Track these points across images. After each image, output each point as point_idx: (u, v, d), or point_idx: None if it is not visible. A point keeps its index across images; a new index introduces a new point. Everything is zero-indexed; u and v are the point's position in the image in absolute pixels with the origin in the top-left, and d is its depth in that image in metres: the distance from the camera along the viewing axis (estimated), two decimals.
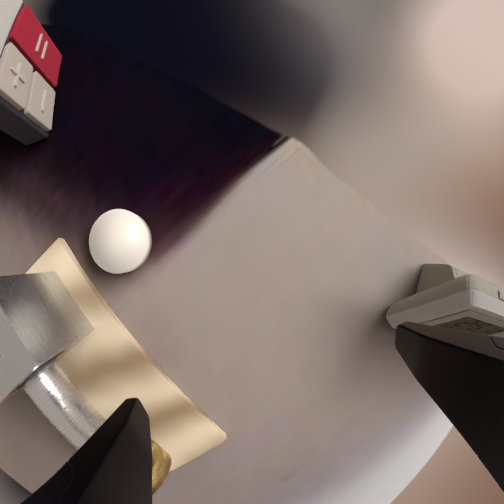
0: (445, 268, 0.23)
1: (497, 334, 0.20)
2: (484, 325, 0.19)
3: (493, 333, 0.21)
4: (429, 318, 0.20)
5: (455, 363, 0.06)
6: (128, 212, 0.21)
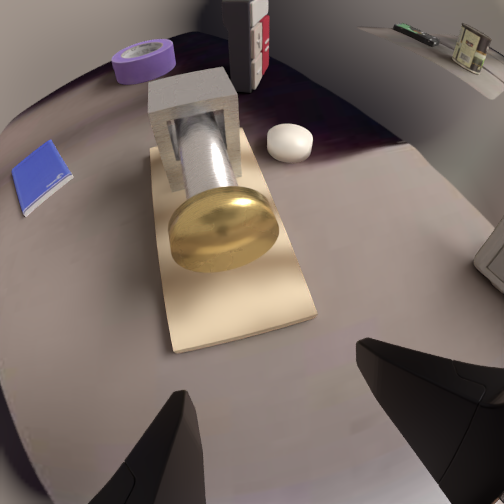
0: None
1: None
2: None
3: None
4: None
5: (412, 388, 0.06)
6: (303, 128, 0.32)
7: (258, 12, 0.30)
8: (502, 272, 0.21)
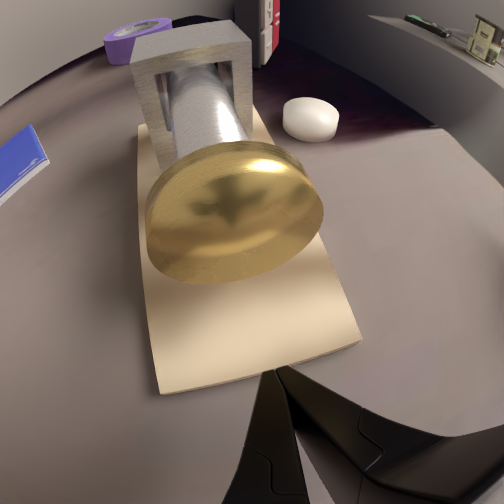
0: None
1: None
2: None
3: None
4: None
5: (312, 431, 0.06)
6: (326, 103, 0.25)
7: None
8: None
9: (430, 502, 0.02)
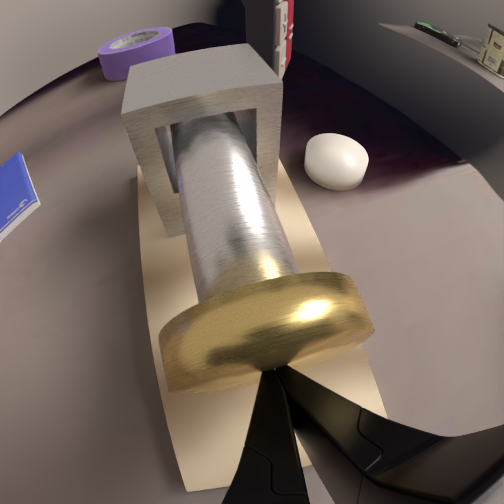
0: None
1: None
2: None
3: None
4: None
5: (312, 431, 0.06)
6: (353, 140, 0.22)
7: None
8: None
9: (430, 502, 0.02)
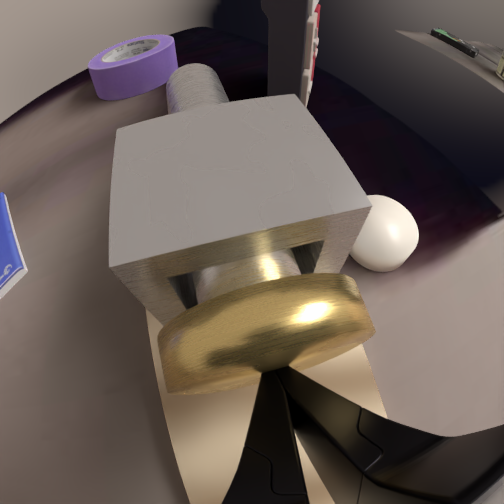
0: None
1: None
2: None
3: None
4: None
5: (312, 431, 0.06)
6: (400, 205, 0.19)
7: None
8: None
9: (430, 502, 0.02)
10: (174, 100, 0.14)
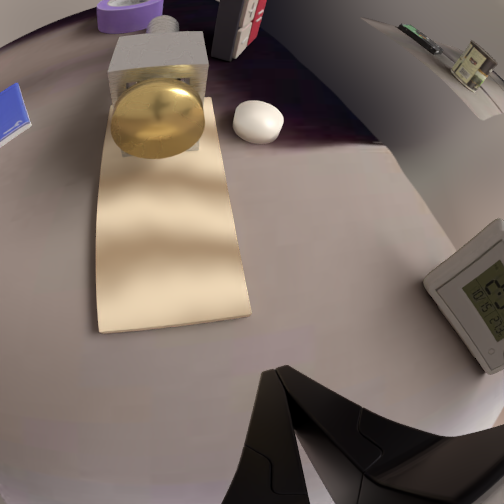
0: None
1: None
2: None
3: None
4: (467, 259, 0.21)
5: (312, 431, 0.06)
6: (276, 109, 0.29)
7: None
8: (451, 299, 0.23)
9: (430, 502, 0.02)
10: (149, 32, 0.22)
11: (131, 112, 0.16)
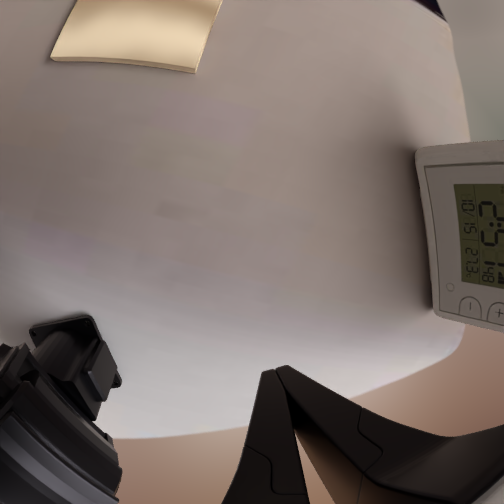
0: None
1: (490, 290, 0.17)
2: (503, 239, 0.15)
3: (488, 283, 0.18)
4: (474, 155, 0.15)
5: (312, 431, 0.06)
6: None
7: None
8: (436, 189, 0.19)
9: (430, 502, 0.02)
10: None
11: None
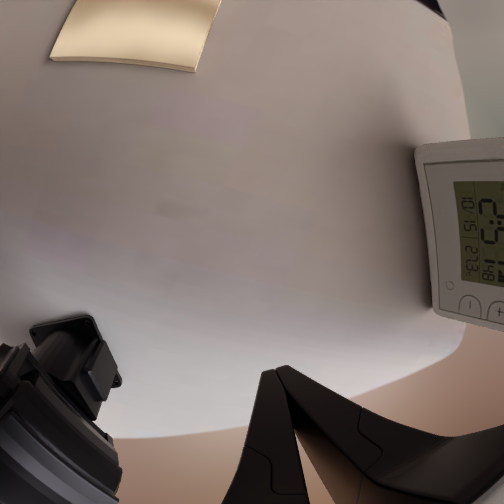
0: None
1: (490, 289, 0.17)
2: (503, 237, 0.15)
3: (488, 281, 0.17)
4: (473, 152, 0.15)
5: (312, 431, 0.06)
6: None
7: None
8: (436, 187, 0.19)
9: (430, 502, 0.02)
10: None
11: None
